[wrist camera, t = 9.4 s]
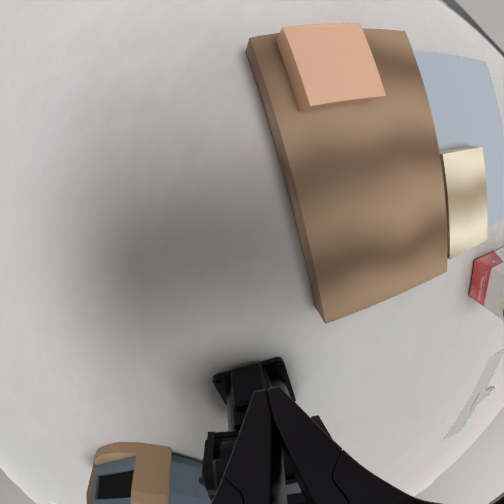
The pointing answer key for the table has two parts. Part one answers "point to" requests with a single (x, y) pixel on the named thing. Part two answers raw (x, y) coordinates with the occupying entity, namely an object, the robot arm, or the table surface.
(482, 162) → the birch tile
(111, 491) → the alarm clock
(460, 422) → the grey flat piece
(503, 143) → the mat
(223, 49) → the table surface
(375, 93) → the terracotta tile
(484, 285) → the ink cartridge box
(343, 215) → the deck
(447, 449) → the table surface
